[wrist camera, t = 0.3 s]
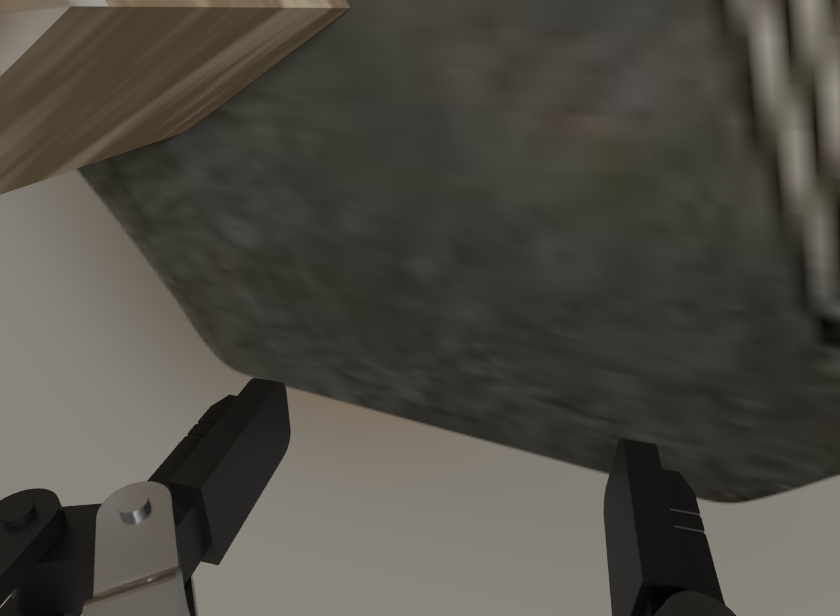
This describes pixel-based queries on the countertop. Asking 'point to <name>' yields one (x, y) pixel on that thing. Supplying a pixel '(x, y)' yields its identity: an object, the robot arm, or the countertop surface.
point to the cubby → (130, 71)
